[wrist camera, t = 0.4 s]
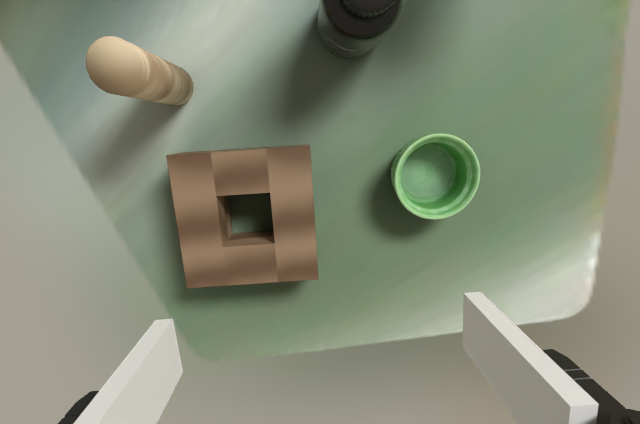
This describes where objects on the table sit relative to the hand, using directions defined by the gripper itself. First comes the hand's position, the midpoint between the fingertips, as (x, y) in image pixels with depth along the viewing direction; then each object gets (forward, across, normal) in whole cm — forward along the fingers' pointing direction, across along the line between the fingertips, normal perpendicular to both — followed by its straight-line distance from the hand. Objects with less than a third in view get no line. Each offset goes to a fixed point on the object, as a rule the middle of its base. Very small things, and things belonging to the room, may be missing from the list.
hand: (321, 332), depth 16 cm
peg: (+26, -14, +14) cm, 33 cm away
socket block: (+26, -7, 0) cm, 27 cm away
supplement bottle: (+26, +5, +19) cm, 33 cm away
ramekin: (+26, +13, +3) cm, 29 cm away
